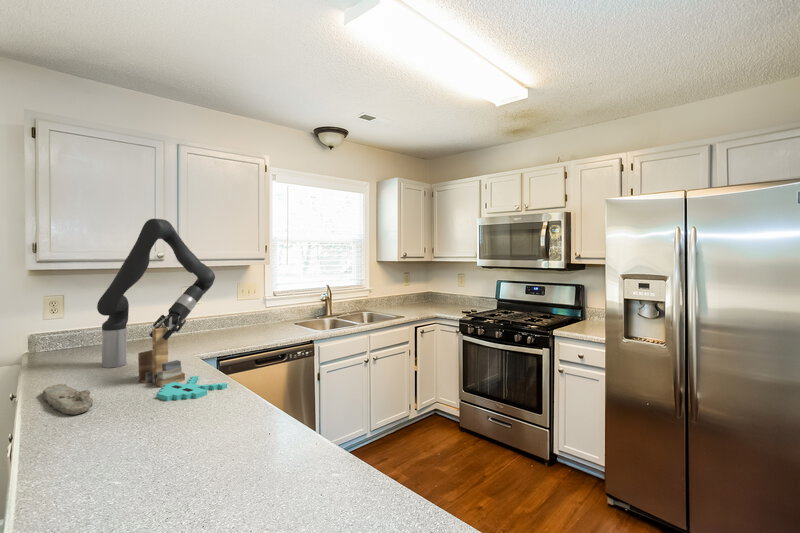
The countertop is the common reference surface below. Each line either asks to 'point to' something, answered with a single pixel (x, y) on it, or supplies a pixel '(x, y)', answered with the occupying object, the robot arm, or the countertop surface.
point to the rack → (146, 367)
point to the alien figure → (187, 390)
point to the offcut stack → (170, 373)
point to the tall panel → (159, 348)
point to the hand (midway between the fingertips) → (157, 337)
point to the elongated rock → (68, 399)
